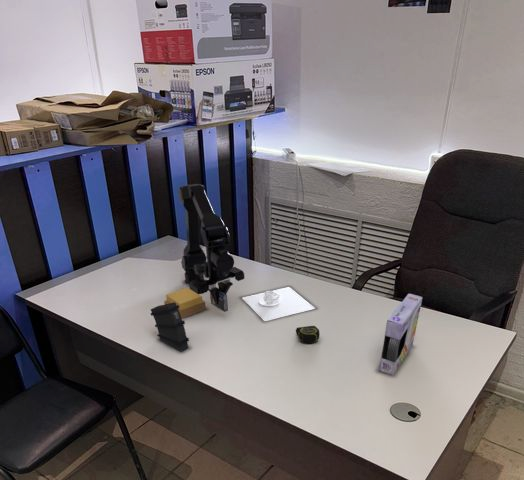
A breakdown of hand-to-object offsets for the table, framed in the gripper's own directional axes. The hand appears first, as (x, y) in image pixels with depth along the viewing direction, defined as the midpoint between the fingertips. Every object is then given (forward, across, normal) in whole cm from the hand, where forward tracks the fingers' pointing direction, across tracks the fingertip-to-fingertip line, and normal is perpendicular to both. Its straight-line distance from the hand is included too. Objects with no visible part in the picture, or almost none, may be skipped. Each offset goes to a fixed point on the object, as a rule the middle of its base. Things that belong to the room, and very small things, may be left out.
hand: (219, 303), depth 168 cm
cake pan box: (+6, -25, +56) cm, 62 cm away
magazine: (+6, +22, +4) cm, 23 cm away
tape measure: (+6, -13, +30) cm, 33 cm away
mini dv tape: (+2, 0, 0) cm, 2 cm away
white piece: (+6, -22, +5) cm, 23 cm away
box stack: (+6, +6, -13) cm, 15 cm away
